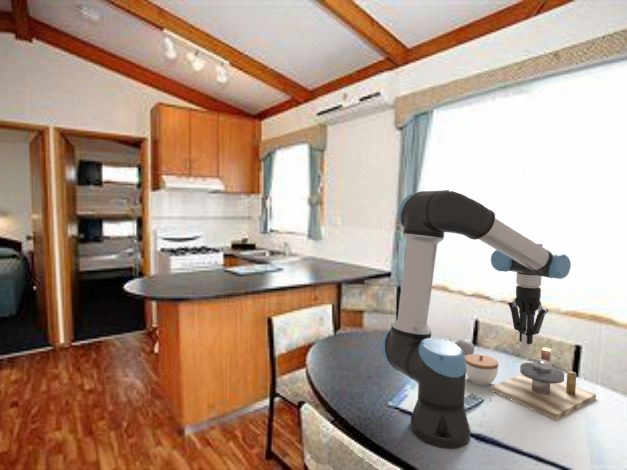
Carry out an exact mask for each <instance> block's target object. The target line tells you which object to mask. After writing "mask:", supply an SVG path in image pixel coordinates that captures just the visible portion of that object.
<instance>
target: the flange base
mask: <svg viewBox="0 0 627 470" xmlns="http://www.w3.org/2000/svg"><path fill="white" fill-rule="evenodd" d="M491 390H492V391H491ZM490 391H491V392H493V391H494V392H493V393H495V392H496V393H495V394H497V393H498V394H497V395H499V394H501V395H503V396H502V397H504V396H505V397H504V398H506V397H507V398H506V399H508V398H509V399H508V400H510V399H512V400H511V401H513V400H514V401H513V402H515V401H516V402H515V403H517V402H518V403H517V404H519V403H520V404H519V405H521V404H523V405H522V406H524V405H525V406H524V407H526V406H527V407H526V408H528V407H529V409H530V408H532V409H531V410H533V409H534V410H533V411H535V412H537V411H538V412H537V413H539V412H540V413H539V414H541V415H543V416H547V417H549V418H550V419H553V420H554V421H557V420H559V419H560V418H563V417H564V416H567V415H569V414H570V413H572V412H573V411H575V410H577V409H579V408H581V407H583V406H585V405H587V404H589V403H591V402H592V401H594V400H596V399H597V397H596V396H597V394H596V393H593V392H591V391H588V390H585V389H583V388H579V387H577V373H576V371H575V372H574V371H572V370H568V371H567V372H566V382H564V381H563V382H561V383H544V382H539V381H536V380H533V379H530V378H528V377H526V376H524V375H523V374H522V373H521V374H520V375H519V374H518V375H517V376H514V377H512V378H509V379H507V380H504V381H502V382H499V383H497V384H493V385H491V387H490ZM501 395H500V396H501Z"/></svg>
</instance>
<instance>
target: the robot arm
mask: <svg viewBox="0 0 627 470" xmlns="http://www.w3.org/2000/svg"><path fill="white" fill-rule="evenodd" d="M397 218H398V221H399V222H400V225H401V226H402V228H403V231H402V235H403V236H404V238H405V239H406V241H407V242H406V250H405V256H404V257H405V258H404V267H403V275H402V280H401V281H402V283H401V289H400V296H399V298H400V299H399V306H398V312H397V313H398V314H397V319H396V320H395V321H393V322H392V324H391V328H389V329H388V330H387V332H386V333H385V334H384V335H383V337H382V339H381V344H380V345H381V347H380V348H381V353H382V356H383V358H384V360H385V361H386V363H387V364H389V365H390V366H391V367H392V368H393V369H395V370H396V371H398V372H400V373H402V374H403V375H405V376H407V377H408V378H410V379H412V380H413V381H414V382H416V383H417V385H418V386H417V400H416V403H415V405H414V408H413V410H412V413H411V416H410V425H409V426H410V430H411V432H412V435H414V436H415V437H416V438H417V439H419V440H420V441H422V442H424V443H426V444H428V445H431V446H433V447H439V448H443V449H457V448H462V447H465V446H466V445H467V444H469V442H470V441H471V440H470V439H471V425H470V423H469V420H468V417H467V412H466V408H465V395H466V394H465V393H466V392H465V390H466V375H467V374H466V363H465V354H464V352H463V350H462V349H461V348H460V347H459V346H458V345H456V344H454V343H452V342H450V340H447V339H442V338H438V337H432V330H431V328H430V327H429V325H428V320H429V313H430V312H429V311H430V305H431V298H432V297H431V296H432V288H433V280H434V275H435V273H434V272H435V267H436V266H435V265H436V256H437V250H438V245H439V243H441V242H442V241H443V240H445V239H444V236H445V233H452V234H458V235H461V236H465V237H467V238H469V239H471V240H479V241H481V242H483V243H485V244H486V245H488V246H490V247H491V248H493V249H495V250H494V251H493V252H492V253H491V256H490V263H491V266H492V267H493V268H494V270H496V271H498V272H503V273H506V272H512V273H513V272H515V273H516V279H515V281H516V282H515V283H516V284H517V285H516V286H515V299H514V300H513V301H510V302H508V303H507V304H508V307H509V308H510V312H511V319H512V323H513V329H514V330H516V331H518V332H519V340H518V341H519V342H521V348H520V349H521V351H520V352H521V353H523V354H528V353H530V351H531V349H530V348H531V345H532V344H533V339H534V337H533V336H534V335H535V336H536V335H538V334H540V331H541V328H542V325H543V323H544V322H543V321H544V320H545V316H546V315H547V313H549V309H548V308H545V307H544V306H542V303H541V294H542V293H541V292H542V288H541V286H542V278H543V277H545V278H550V279H557V280H562V279H565V278H566V277H567V276H568V275H569V273H570V270H571V259H570V258H569V257H568V256H567V255H566V254H564V253H559V252H551V251H550V250H548V249H546V248H544V247H543V244H542V243H541V242H537V241H534V240H532V239H531V238H529V237H528V236H527V235H525V234H523V233H521V232H520V231H519V230H517V229H515V228H514V227H513V226H511V225H509V224H508V223H506V222H505V221H503V220H502V219H500V218H499V217H497V216H496V213H495V211H494V210H493V209H492V208H491V207H489V206H488V205H486V204H484V203H482V202H480V201H479V200H477V199H475V198H474V197H472V196H470V195H468V194H466V193H463V192H459V191H457V190H452V189H447V190H445V189H443V190H426V191H425V190H424V191H423V190H422V191H418V192H413V193H410V194H409V195H407V196H406V197H405V198H403V200H402V201H401V203H400V204H399V207H398V211H397ZM536 312H537V314H536ZM535 316H536V318H535Z"/></svg>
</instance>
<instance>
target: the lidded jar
mask: <svg viewBox="0 0 627 470" xmlns="http://www.w3.org/2000/svg"><path fill="white" fill-rule="evenodd" d="M465 363H466V375H467V378H469V380H470V382H471V383H473V384H475V385H477V386H481V387H482V386H484V387H485V386H489V385H490V384H492V383H493V382H494V381H495V379H496V378H497V375H498V369H499V361H498V360H497V359H496V358H494V357H491V356H488V355H486V354H485V355H484V354H479V353H477V354H476V353H473V354H469V355H466V356H465Z"/></svg>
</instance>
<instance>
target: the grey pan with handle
mask: <svg viewBox="0 0 627 470" xmlns="http://www.w3.org/2000/svg"><path fill="white" fill-rule="evenodd" d="M540 357H541V358H535V359H532V362H524V363H522V364H520V368H519V372H520V373H521V375H522V374H523V375H524V376H526V377H528V378H530V379H533V380H536V381H539V382H544V383H561V382H564V381H565V373H564V372H563V370H560V369H559V368H557V367H554V366H552V360H551V359H552V348H548V347H542V348H541V354H540Z"/></svg>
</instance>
